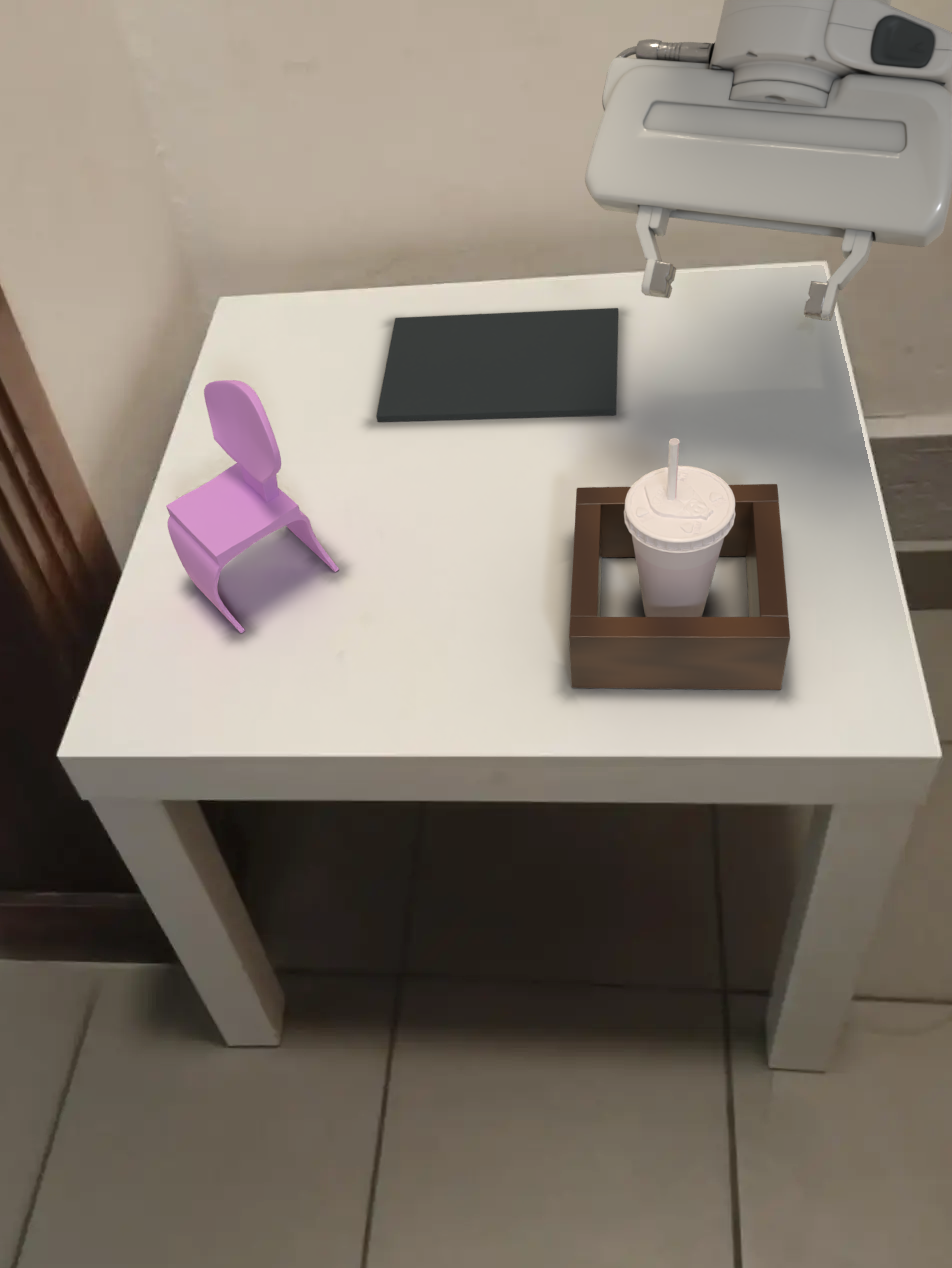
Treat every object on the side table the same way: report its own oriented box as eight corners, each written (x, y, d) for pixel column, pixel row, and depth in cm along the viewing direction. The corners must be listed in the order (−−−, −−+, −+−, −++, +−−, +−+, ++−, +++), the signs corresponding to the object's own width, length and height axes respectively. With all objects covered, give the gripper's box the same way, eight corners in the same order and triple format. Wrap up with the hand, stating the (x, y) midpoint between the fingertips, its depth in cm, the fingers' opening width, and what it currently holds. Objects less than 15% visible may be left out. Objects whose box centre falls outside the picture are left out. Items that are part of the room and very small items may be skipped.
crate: (769, 538, 81) (777, 483, 77) (780, 690, 74) (790, 637, 70) (578, 540, 83) (576, 487, 79) (571, 688, 76) (569, 637, 72)
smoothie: (658, 560, 81) (664, 392, 70) (744, 599, 78) (765, 431, 67) (603, 622, 79) (601, 459, 68) (689, 665, 76) (702, 501, 65)
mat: (618, 313, 97) (618, 307, 96) (615, 415, 90) (615, 408, 90) (396, 323, 100) (394, 317, 100) (377, 422, 93) (375, 416, 93)
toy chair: (180, 579, 86) (110, 414, 74) (282, 516, 89) (230, 345, 76) (242, 646, 82) (178, 481, 70) (348, 577, 84) (303, 406, 72)
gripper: (602, 15, 68) (550, 272, 71) (991, 40, 61) (915, 322, 64) (626, 56, 74) (577, 292, 77) (985, 83, 67) (915, 340, 70)
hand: (734, 306), depth 71 cm, fingers open, 8 cm apart
